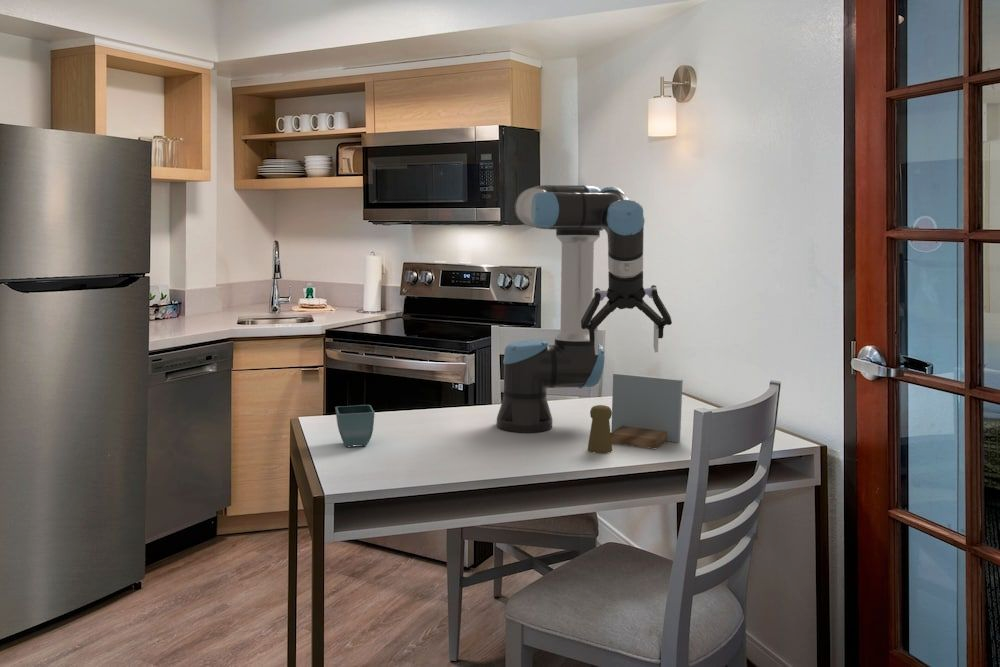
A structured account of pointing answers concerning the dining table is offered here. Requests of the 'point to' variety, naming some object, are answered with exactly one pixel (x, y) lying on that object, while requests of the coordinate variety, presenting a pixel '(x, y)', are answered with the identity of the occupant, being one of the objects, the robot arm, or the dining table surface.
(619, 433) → the brown flat block
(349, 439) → the flower pot
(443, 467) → the dining table surface
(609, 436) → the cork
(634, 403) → the back board
